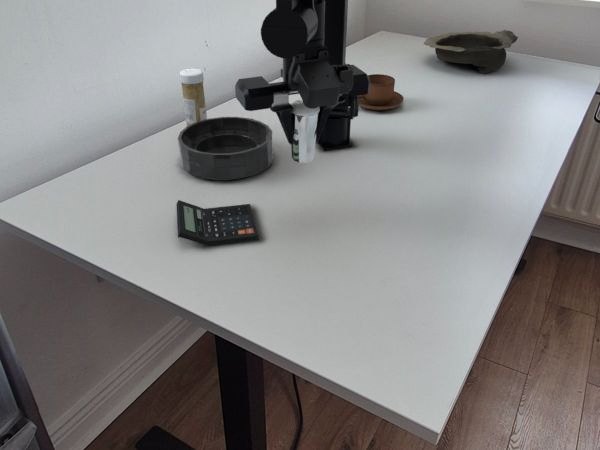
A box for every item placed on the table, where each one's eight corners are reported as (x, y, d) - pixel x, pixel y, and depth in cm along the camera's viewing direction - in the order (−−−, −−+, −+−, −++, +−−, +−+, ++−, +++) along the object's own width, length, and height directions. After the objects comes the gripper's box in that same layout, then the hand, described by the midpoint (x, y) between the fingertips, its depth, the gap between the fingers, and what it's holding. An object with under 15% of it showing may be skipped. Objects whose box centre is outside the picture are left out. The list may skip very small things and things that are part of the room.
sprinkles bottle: (212, 136, 114) (206, 72, 107) (192, 141, 112) (184, 76, 104) (203, 129, 117) (196, 66, 110) (183, 133, 115) (175, 70, 108)
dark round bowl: (258, 137, 113) (257, 112, 110) (284, 173, 100) (284, 146, 97) (175, 149, 109) (171, 123, 106) (191, 189, 95) (187, 161, 92)
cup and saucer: (378, 118, 122) (381, 91, 119) (340, 104, 129) (341, 78, 126) (413, 105, 129) (416, 79, 125) (375, 92, 136) (377, 67, 133)
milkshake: (323, 153, 86) (326, 91, 81) (311, 167, 82) (314, 102, 76) (296, 148, 87) (297, 86, 82) (283, 161, 83) (284, 98, 78)
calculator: (258, 240, 82) (257, 223, 80) (179, 249, 80) (177, 232, 78) (250, 208, 90) (249, 192, 88) (178, 216, 88) (175, 200, 86)
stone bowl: (526, 77, 145) (532, 41, 140) (431, 84, 146) (433, 49, 141) (499, 50, 165) (503, 18, 160) (416, 56, 167) (417, 24, 162)
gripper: (254, 61, 65) (259, 176, 74) (393, 44, 71) (383, 154, 79) (230, 37, 74) (238, 143, 83) (355, 24, 79) (350, 124, 88)
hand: (303, 141), depth 83 cm, fingers closed on milkshake, 4 cm apart
